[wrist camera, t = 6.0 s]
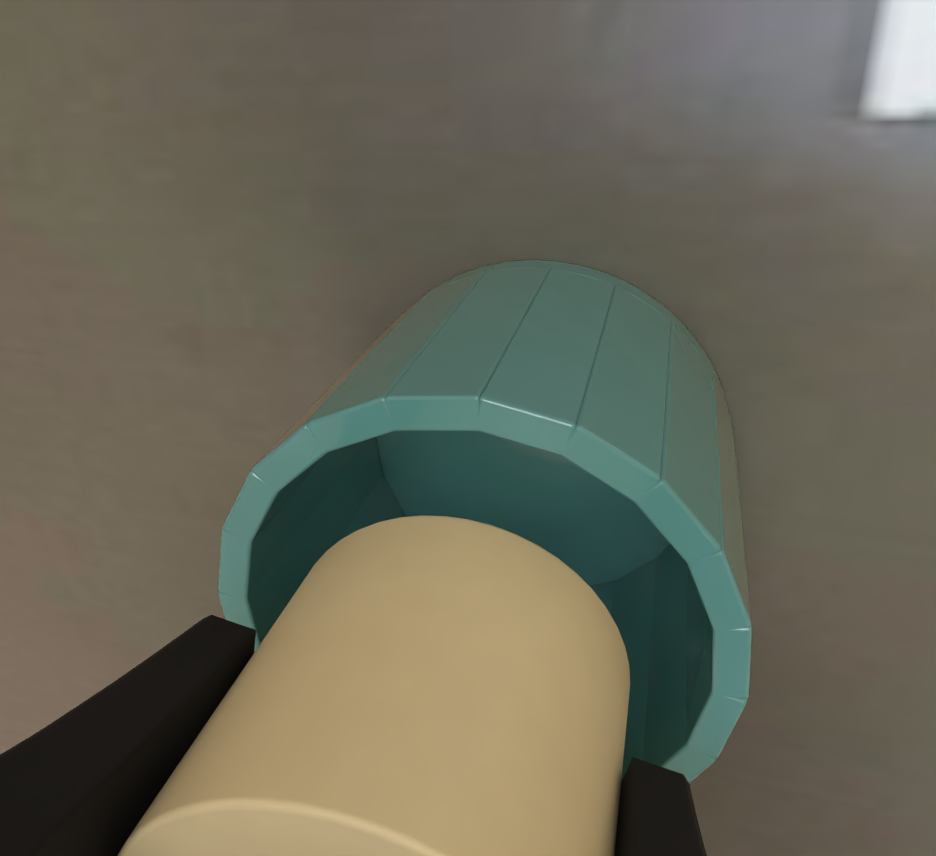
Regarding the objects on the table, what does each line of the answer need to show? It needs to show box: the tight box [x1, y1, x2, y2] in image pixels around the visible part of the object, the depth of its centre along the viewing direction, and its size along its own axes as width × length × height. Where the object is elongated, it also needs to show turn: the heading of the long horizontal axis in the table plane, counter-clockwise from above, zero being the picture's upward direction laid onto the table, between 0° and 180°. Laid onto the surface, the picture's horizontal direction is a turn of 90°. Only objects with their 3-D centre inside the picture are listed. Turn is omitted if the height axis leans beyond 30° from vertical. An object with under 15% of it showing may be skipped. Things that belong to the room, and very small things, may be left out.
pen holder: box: [218, 260, 752, 783], centre depth 15 cm, size 8×8×6 cm
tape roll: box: [118, 515, 630, 856], centre depth 10 cm, size 5×5×4 cm
